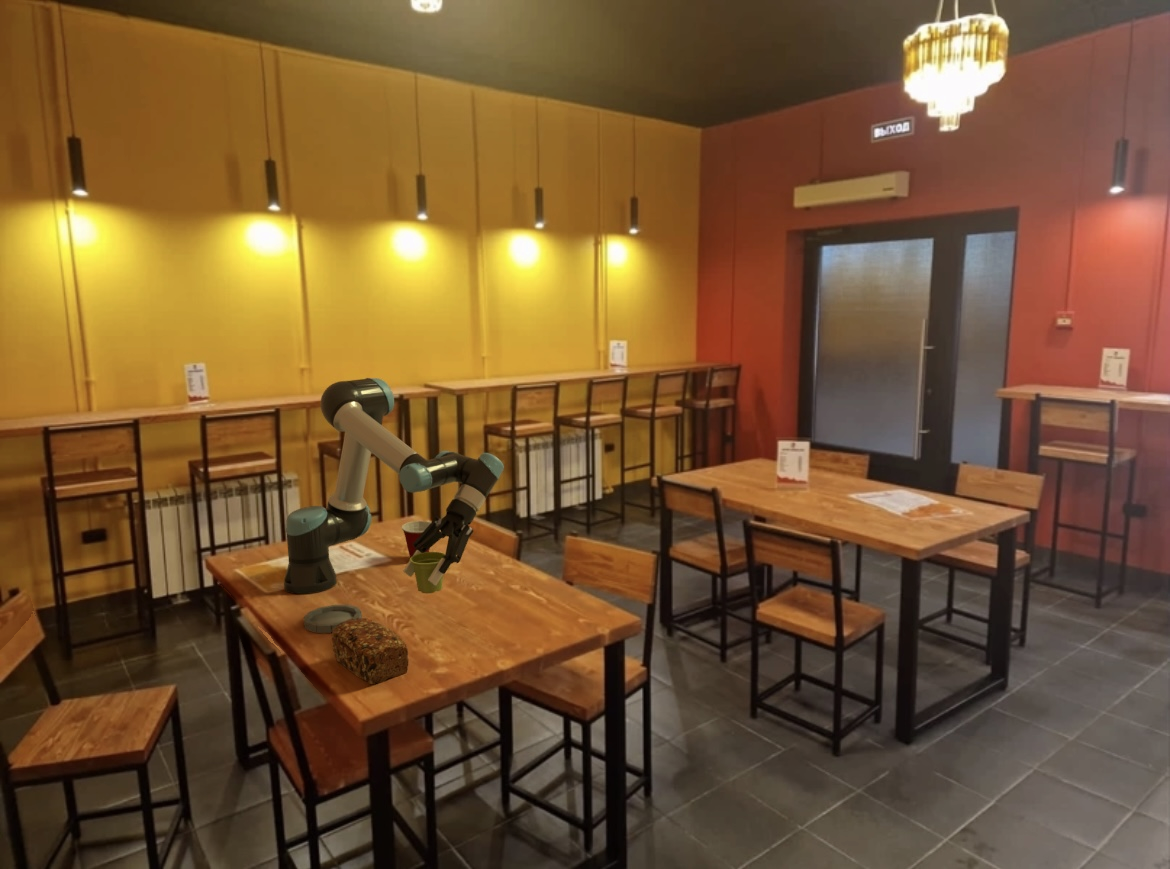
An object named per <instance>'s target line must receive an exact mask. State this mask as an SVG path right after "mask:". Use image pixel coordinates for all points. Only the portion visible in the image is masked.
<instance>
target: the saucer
mask: <svg viewBox="0 0 1170 869" xmlns="http://www.w3.org/2000/svg"><path fill="white" fill-rule="evenodd" d="M357 618H361V619H362V618H363V616H362V610H361V609H360V608H359V607H358V606H354V605H350V604H331V605H327V606H320V607H318V608H315V609H312V610H310V611H309V612H307V613H306V614H305V615H304V617H303V625H304V628H305V630H306V631H309V632H312V633H316V634H331V632H332V634H333V630H334V628H336V627H337V625H338V624H340V623H342V622H345V621H347V620H350V619H357Z"/></svg>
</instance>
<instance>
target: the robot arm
mask: <svg viewBox="0 0 1170 869" xmlns="http://www.w3.org/2000/svg"><path fill="white" fill-rule="evenodd" d="M394 407H395V396H394V394H393V391H392V390H391V387H390V386H389V384H388V383H387V382H386V381H385V380H383V379H381V378H376V377H374V378H373V377H372V378H371V377H366V378H360V379H351V380H342V381H341V380H340V381H337V382H334V383H332V384H330V385H328V387H326V389H324V391H323V393H322V395H321V398H320V410H321V414H322V416H323V418H324V419H325V420H326V422H327V423H329V425H330V426H332V427H333V428H334V429H335V430H337V431H338V432H342V433H343V432H345V433H344V437H343V443H342V449H341V455H340V461H339V466H338V472H337V477H336V478H337V479H336V483H335V484H336V485H335V489H334V493H333V494H330V496H328V500H327V505H326V508H325V507H324V506H321V505H320V506H319V505H310V506H306V507H301V508H299V509H298V508H297V509H296V510H294V511H292V512H290V513H289V514H288V516H287V517H286V520H285V522H286V524H285V526H286V527H285V532H286V539H287V540H286V542H287V554H288V555H287V556H288V565H287V567H286V568H287V569H286V571H285V572H286V573H285V575H284V580H283V586H284V587H283V588H284V590H285V591H286V592H288V593H291V594H299V595H301V594H303V595H304V594H313V593H319V592H323V591H326V590H329V589H331V588H333V587H334V586H336V584H337V583H338V580H337V574H336V572H335V569H334V567H333V564H332V562H331V560H330V559H331V558H330V551H329V550H330V547H332V546H335V545H338V544H341V543H345V542H348V541H354V540H356V539H358V538H360V537H362V536H364V535H365V534H366V533H367V532H368V531H369V529H370V526H371V524H372V514H371V513H370V512H371V509H370V507H369V506H368V503H367V500H366V499H365V498H364V492H365V487H366V484H367V478H368V472H369V468H370V467H369V466H370V461H371V455H372V454H373V455H374V456H375V457H376V458H378V459H379V460H381V461H382V462H383V463H384V464H385V465H386V466H388V467H389V468H391V470H393V471H394V472H396V473H397V474H398V475H399V476H398V479H399V483H400V485H401V486H402V488H403V489H404V490H405V491H406V492H408V493H412V494H413V493H417V492H418V493H419V492H420V493H421V492H425V491H428V490H431V489H433V488H437V487H442V486H444V485H449V484H452V483H458V484H461V485H460V487H459V488H458V490H457V491H456V493H455V494H454V496H453V499H451V501H450V502H449V504H448V505H447V507H446V509H445V511H446V514H445V516H444V517H442V518H440V517H438V516H434V517H433V518H432V520H431V521H430V522H431V524H430V525H429V526H428V527H427V528H426V529H425V530H424V532H423V533H422V534H421V535H420V536H419V537H418V538H417V539H416V541H415V542H414V543H413V546H414V547H415V552H414V553H413V555H412V556H414V555H416V554H419V553H424V552H426V551H427V550H428V549H429V548H432V547H434V545H435V544H436V543H437V542H439V541H440V540H441V539H444V538H445V537H448V539H447V543H446V550H445V553H444V554H445V556H443V557H444V558H445V559H444V558H441V560H440V561H439V563H438V564H437V566H436V568H435V569H434V571H433V572H432V574H431V576H430V577H429V579H428V581H429V582H431V583H432V584H433V585H435V586H436V585H437V583H438V582H439V580H440V579H441V577H442V575H443V576H444V575H445V574H446V573H447V571H448V569H449V568H450V566H451V565H452V564H454V563H456V564H458V563H460V562H461V559H462V557H463V554H464V552H465V550H466V546H467V545H468V541H469V539H470V538H471V535H472V534H473V533H474V529H473V528H472V527H470V525H471V524H472V522H473V521H474V519H475V517H476V516H477V513H478V512H479V511H480V509H481V507H482V506H483V505H484V503H485V501H486V499H487V498H488V496H489V494H490V493H491V491H492V489H493V488H494V487H495V485H496V484H497V483H498V481H499V480H500V478H501V477H500V476H501V475H502V473H503V472H504V468H505V466H504V463H503V462H502V460H501V459H499V458H498V457H497V456H496V455H494V454H491V453H489V452H483V453H481V454H480V455H479V457H478V458H474V457H473V458H472V457H470V456H466V455H463V454H460V453H458V452H455V451H448V450H442V451H440V452H439V453H438V454H437V455H436V456H435V457H434V458H431V459H426V458H425V457H424V456H423V455H421V454H420V453H418V452H417V451H416V450H414V449H413V448H411V447H410V446H409V445H407V444H406V443H405V442H404V441H403V440H401V439H400V438H399V437H398V436H396V434H394V433H392V432H391V431H390V430H389V429H387V428H386V427H384V426H383V425H382V424H383V421H384V417H386V416H388V415H389V414H390V413H392V411H393V409H394ZM422 548H423V549H422ZM412 556H411V557H412ZM408 560H409V561H408V563H407V564H406V566H405V567H404V569H403V571H402V572H403V573H405V574H406V575H407V576H408V577H410V578H412V576H413V575H414V574H415V572H414V567H413V566H412V563H411V561H410V559H408Z"/></svg>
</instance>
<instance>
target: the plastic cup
mask: <svg viewBox="0 0 1170 869" xmlns="http://www.w3.org/2000/svg"><path fill="white" fill-rule="evenodd" d="M431 522H432V521H428V520H413V521H408V522H406V523H403V524H402V525H401V530H402V532H403V534H404V538H405V542H406V546H407V547H406V548H407V551H408V555H409V559H410V558H411V556H412V555H413V553H414V552H415V547H414V546H413V543H414V542H415V541H416V539H417V538H418V537H419V536H420V535H421V534H422V533H423V532H424V530H425V529H426V528H427V527H428V526H429V525H430V524H431ZM430 548H431V547H430ZM430 548H429V549H428V550H427V551H426V552H430V550H431V549H430ZM422 549H423V548H422Z"/></svg>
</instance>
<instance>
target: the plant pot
mask: <svg viewBox="0 0 1170 869" xmlns="http://www.w3.org/2000/svg"><path fill="white" fill-rule="evenodd" d="M445 554H446V553H443V552H440V551H429V552H424V553H419V554H416V555H414V556H412V557H411V558H410V557H409V560H410V561H411V563H412V566H413V567H414V575H415V580H416V581H415V582H416V587H417V591H418V592H421V594H434V593H435V592H440V591H441V590H442V589H443V584H444V583H443V580H444V574H443V575H442V577H441V579H440V580H439V582H438V583H437V585H436V586H435V585H433V584H432V583H431V582H429V581H428V579H429V577H430V576H431V574H432V572H433V571H434V569H435V568H436V566H437V564H438V563H439V561H440V560H441V558H444V557H443V556H445ZM444 559H445V558H444Z"/></svg>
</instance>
